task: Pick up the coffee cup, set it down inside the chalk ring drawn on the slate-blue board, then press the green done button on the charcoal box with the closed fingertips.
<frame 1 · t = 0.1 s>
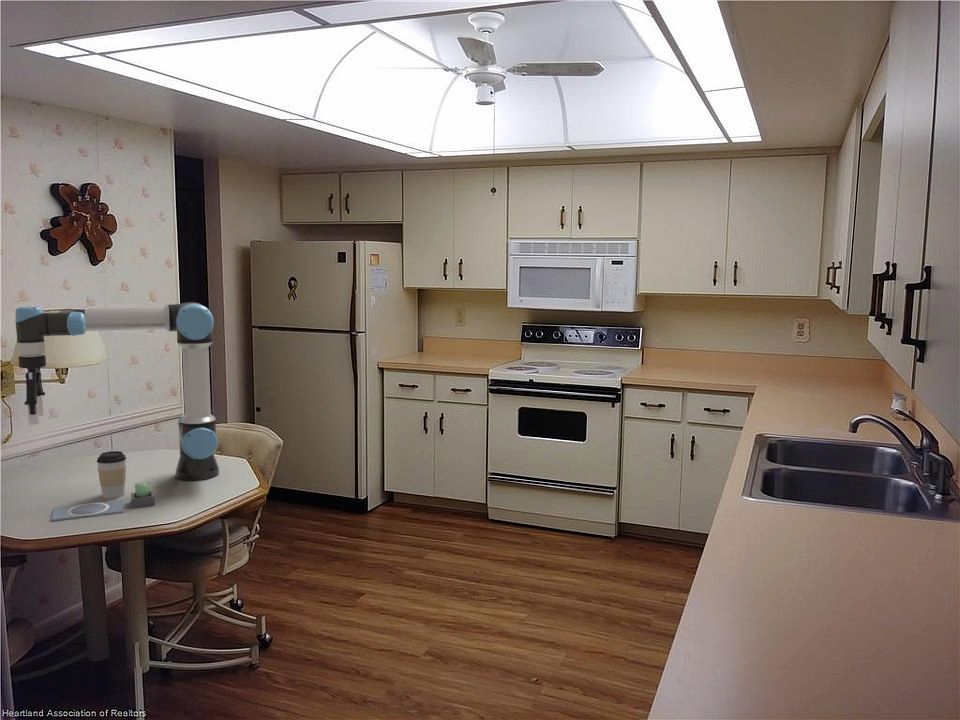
hand: (36, 419, 243), 28 cm above the table, fingers open, 13 cm apart
done button: (142, 490, 247), point 5 cm above the table, slide at 0.0 cm
coffee cup: (113, 495, 256), on the table
button housing: (143, 503, 248), on the table
slate board: (88, 510, 240), on the table
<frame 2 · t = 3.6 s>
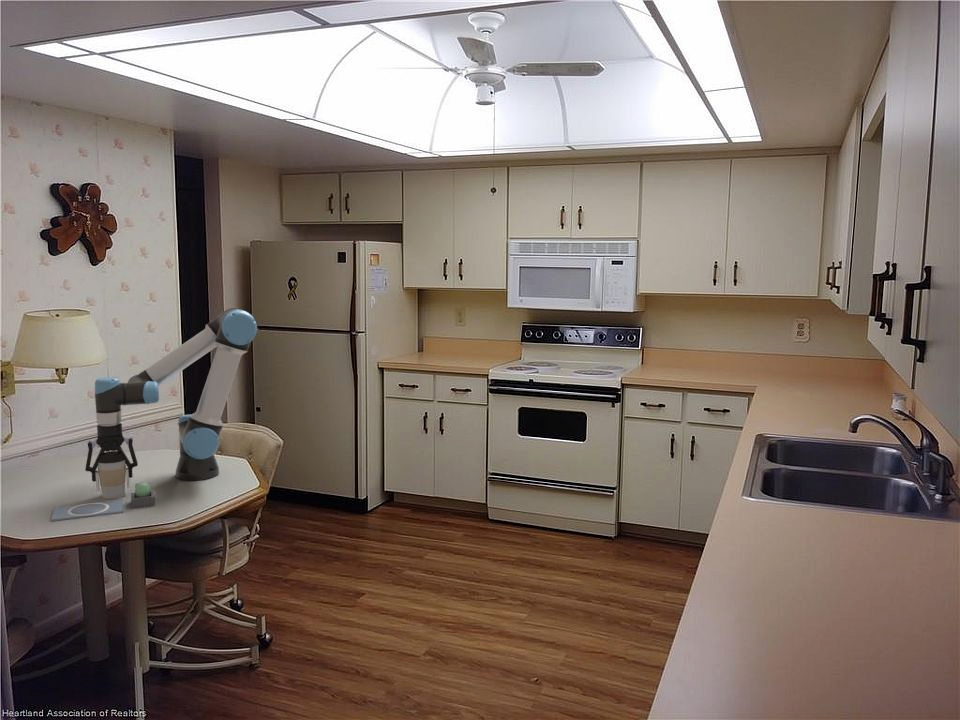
hand: (113, 488, 255), 2 cm above the table, fingers closed on coffee cup, 9 cm apart
coffee cup: (113, 495, 256), on the table, touching gripper
everything else where it was.
when the fingers open (5 cm above the table, at t = 8.6 s): coffee cup drops 2 cm, resting on slate board.
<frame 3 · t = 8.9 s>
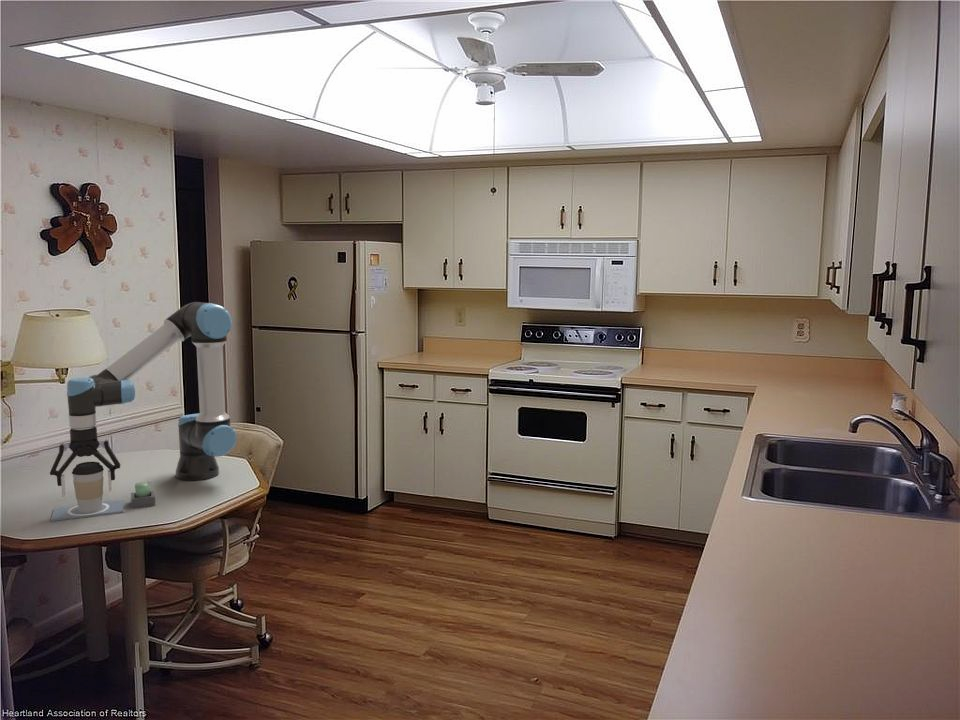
hand: (87, 492, 239), 6 cm above the table, fingers open, 12 cm apart
coffee cup: (90, 509, 240), resting on slate board
everything else where it was.
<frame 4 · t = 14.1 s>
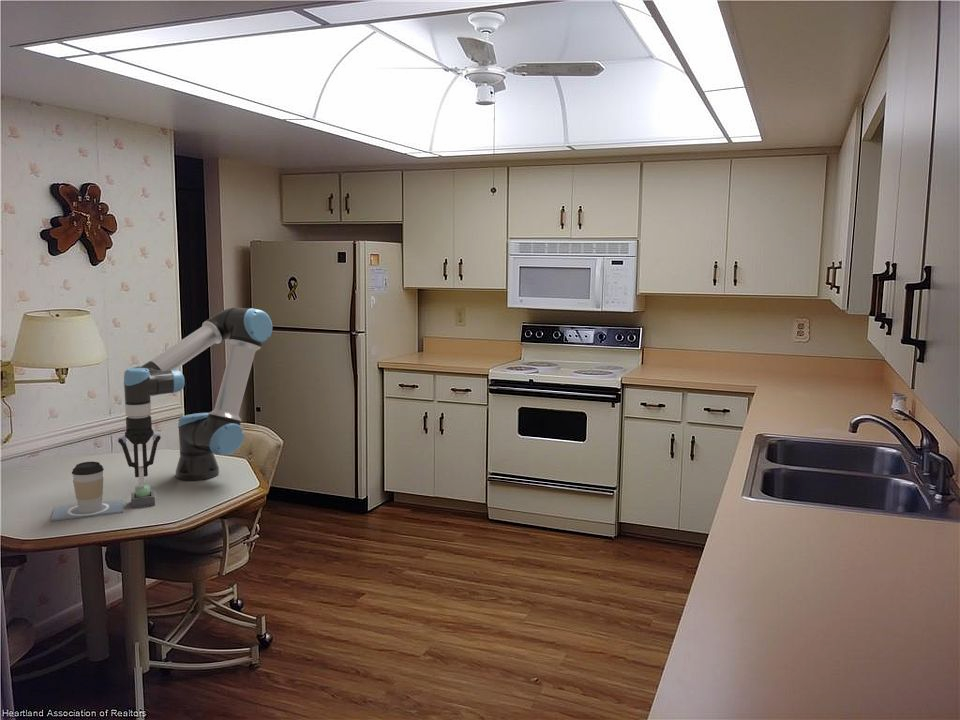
hand: (141, 486, 247), 6 cm above the table, fingers closed
done button: (142, 492, 247), point 4 cm above the table, slide at 0.9 cm, touching gripper
everything else where it was.
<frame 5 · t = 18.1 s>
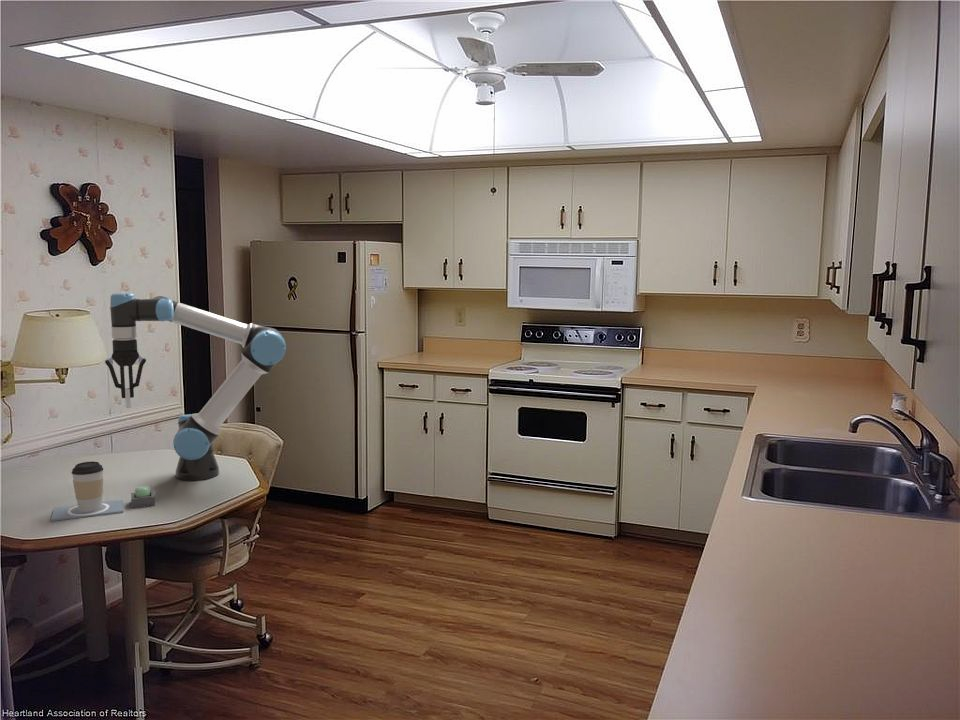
hand: (128, 407, 257), 29 cm above the table, fingers closed
done button: (142, 494, 247), point 3 cm above the table, slide at 1.4 cm
everything else where it was.
at the end: coffee cup inside the target area on the slate board (0.5 cm from its centre), point 0.5 cm above the slate board's base; coffee cup tilted 1°; done button slide at 1.4 cm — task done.
